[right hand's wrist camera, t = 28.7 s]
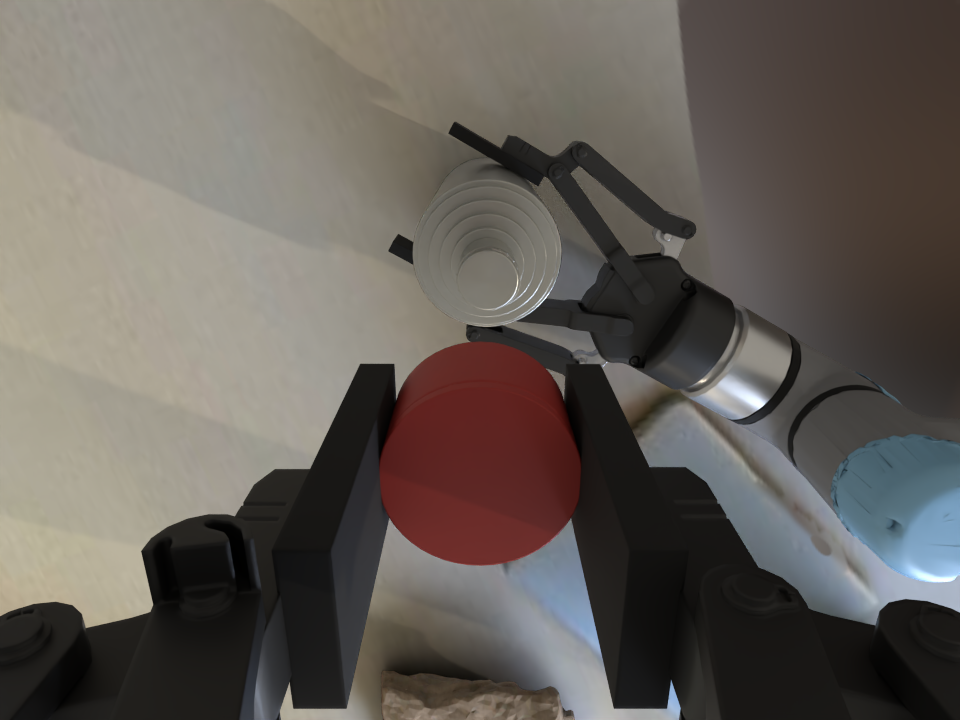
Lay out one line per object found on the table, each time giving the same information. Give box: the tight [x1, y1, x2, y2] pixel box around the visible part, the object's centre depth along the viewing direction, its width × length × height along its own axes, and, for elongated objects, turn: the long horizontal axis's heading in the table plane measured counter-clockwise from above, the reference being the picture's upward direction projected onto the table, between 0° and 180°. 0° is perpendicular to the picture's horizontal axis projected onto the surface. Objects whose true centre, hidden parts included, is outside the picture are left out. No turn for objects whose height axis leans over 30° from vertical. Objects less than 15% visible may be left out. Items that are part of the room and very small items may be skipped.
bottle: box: [413, 158, 562, 327], centre depth 39 cm, size 8×8×22 cm
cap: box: [379, 342, 581, 566], centre depth 13 cm, size 4×4×3 cm
